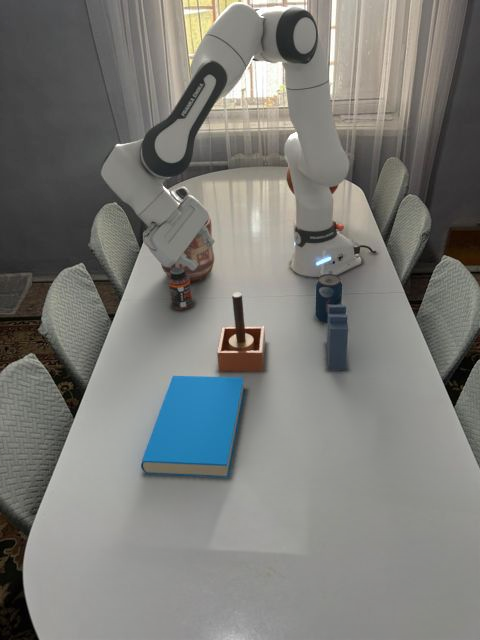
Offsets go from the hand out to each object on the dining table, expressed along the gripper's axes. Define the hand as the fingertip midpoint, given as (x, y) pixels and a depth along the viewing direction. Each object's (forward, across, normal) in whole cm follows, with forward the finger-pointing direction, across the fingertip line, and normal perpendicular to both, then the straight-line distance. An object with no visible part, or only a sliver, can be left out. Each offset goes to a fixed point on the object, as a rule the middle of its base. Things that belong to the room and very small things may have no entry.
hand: (204, 256), depth 121 cm
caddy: (+24, -10, +5) cm, 26 cm away
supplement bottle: (+10, +8, +27) cm, 30 cm away
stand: (+38, -3, -11) cm, 40 cm away
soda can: (+36, +12, -5) cm, 39 cm away
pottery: (+8, +24, +33) cm, 42 cm away
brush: (+25, -10, -1) cm, 27 cm away
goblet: (+30, +76, +18) cm, 84 cm away
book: (+21, -35, +3) cm, 41 cm away
